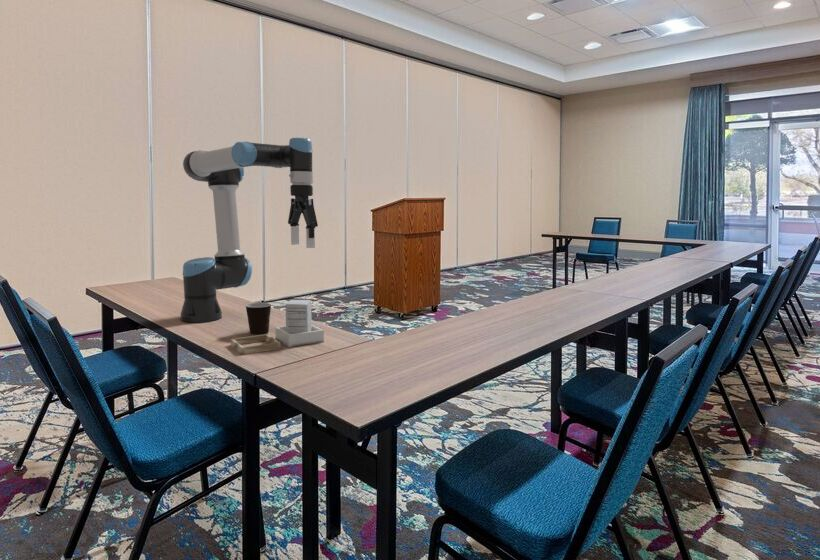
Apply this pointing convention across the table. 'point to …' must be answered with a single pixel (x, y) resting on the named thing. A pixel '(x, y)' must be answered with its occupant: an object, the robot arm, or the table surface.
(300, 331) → the supplement box
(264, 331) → the coffee mug
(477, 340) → the table surface
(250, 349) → the corral
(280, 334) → the bin
